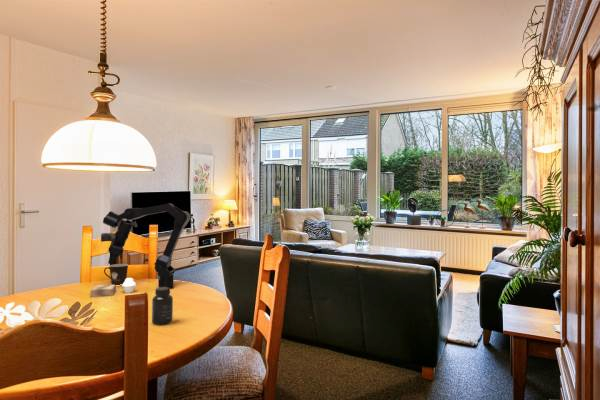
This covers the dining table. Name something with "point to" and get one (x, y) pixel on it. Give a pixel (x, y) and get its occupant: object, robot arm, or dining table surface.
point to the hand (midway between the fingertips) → (110, 260)
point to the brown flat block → (103, 290)
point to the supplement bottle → (162, 306)
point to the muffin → (128, 285)
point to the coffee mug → (117, 273)
